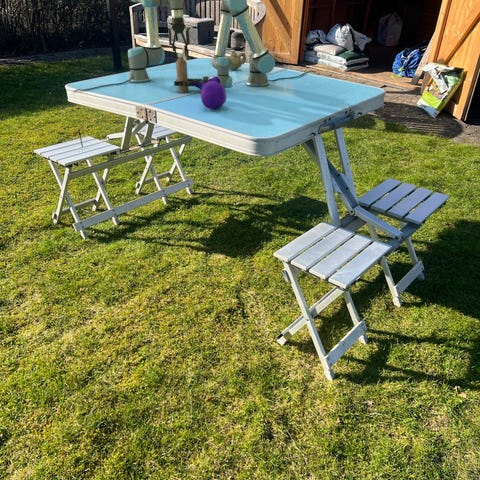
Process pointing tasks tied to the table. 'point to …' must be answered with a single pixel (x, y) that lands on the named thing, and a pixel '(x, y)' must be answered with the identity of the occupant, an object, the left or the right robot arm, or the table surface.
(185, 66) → the bottle
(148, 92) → the table surface
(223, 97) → the toy
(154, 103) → the table surface
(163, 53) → the left robot arm
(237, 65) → the beige rounded piece
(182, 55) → the cap
